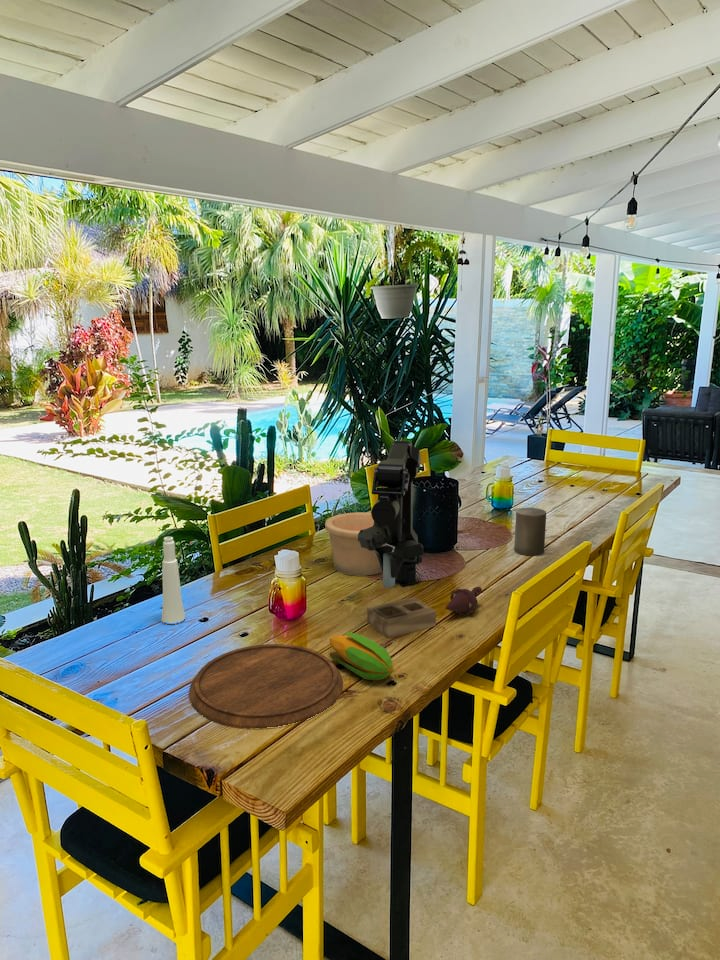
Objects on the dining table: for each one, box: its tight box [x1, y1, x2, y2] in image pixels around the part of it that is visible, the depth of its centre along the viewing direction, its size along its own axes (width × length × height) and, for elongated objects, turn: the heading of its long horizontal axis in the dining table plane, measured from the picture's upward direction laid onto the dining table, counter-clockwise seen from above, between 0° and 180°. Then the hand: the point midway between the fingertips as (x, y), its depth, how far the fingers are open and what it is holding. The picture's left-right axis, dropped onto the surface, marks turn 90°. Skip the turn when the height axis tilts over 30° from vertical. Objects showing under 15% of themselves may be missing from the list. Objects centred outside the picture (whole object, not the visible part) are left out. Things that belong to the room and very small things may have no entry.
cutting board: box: [188, 643, 344, 729], centre depth 150 cm, size 32×32×3 cm
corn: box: [329, 631, 395, 681], centre depth 156 cm, size 7×8×20 cm
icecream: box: [445, 586, 483, 617], centre depth 185 cm, size 7×7×15 cm
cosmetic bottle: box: [161, 536, 186, 623], centre depth 179 cm, size 6×6×22 cm
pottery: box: [324, 511, 382, 577], centre depth 218 cm, size 22×22×14 cm
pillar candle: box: [513, 507, 547, 557], centre depth 232 cm, size 10×10×15 cm
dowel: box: [382, 553, 396, 588], centre depth 175 cm, size 3×3×8 cm
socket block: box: [366, 597, 437, 639], centre depth 179 cm, size 10×14×4 cm
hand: (389, 575), depth 176 cm, fingers closed on dowel, 3 cm apart
